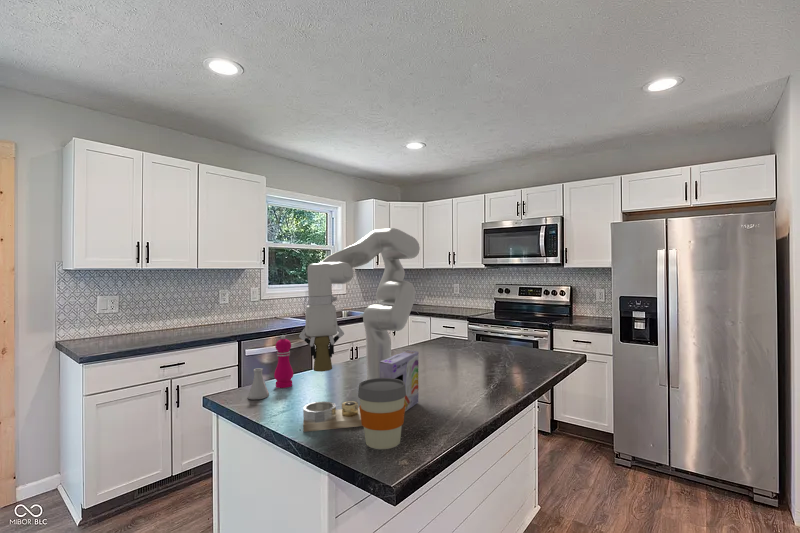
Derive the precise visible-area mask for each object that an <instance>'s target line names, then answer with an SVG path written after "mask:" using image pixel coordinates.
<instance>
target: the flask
mask: <svg viewBox="0 0 800 533" xmlns="http://www.w3.org/2000/svg"><path fill="white" fill-rule="evenodd" d="M263 371H264V368H261V367H260V368H258V367H257V368H254V369H253V370H252V372H253V374H254V376H253V380H252V385H251V387H250V390H249V393H248V395H247V399H249V400H263V399H265V398H268V397H269V396H270V392H269V390H268V387H267V386H266V383H265V380H264V376H263Z"/></svg>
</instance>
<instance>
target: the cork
mask: <svg viewBox="0 0 800 533" xmlns="http://www.w3.org/2000/svg"><path fill="white" fill-rule="evenodd" d="M329 344H330V339H329V336H322V337H315V340H314V345H315V357H316V358H315V359H313V360H314V362H313V371H314V372H328V371H331V370H332V369H333V365H332V364H333V363H332V357H331V358H330V351H329Z"/></svg>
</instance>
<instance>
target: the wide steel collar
mask: <svg viewBox="0 0 800 533" xmlns="http://www.w3.org/2000/svg"><path fill="white" fill-rule="evenodd" d="M336 408H337V407H336V403H333V402H331V401H314V402H310V403H307V404H306V405H304V406H303V409H302V410H303V413H302V414H303V420H305V421H307V422H311V423H320V422H326V421H330V420H332V419H334V418H335V417H336V410H337V409H336Z"/></svg>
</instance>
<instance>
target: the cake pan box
mask: <svg viewBox="0 0 800 533" xmlns="http://www.w3.org/2000/svg"><path fill="white" fill-rule="evenodd" d="M380 378H393V379H399V380H402V381H403V382H404V383H405V389H406V396H405V399H404V404H405V413H406V412H407V411H408V410H410V409H411V408H413V407H414V406H415V405H417V404H418V403H419V351H416V350H412V349H411V350H409V349H406V350H405V351H402V352H400V353H397V354H394V355H391V357H390V358H388V359H385V360H383V361H380Z"/></svg>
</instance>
